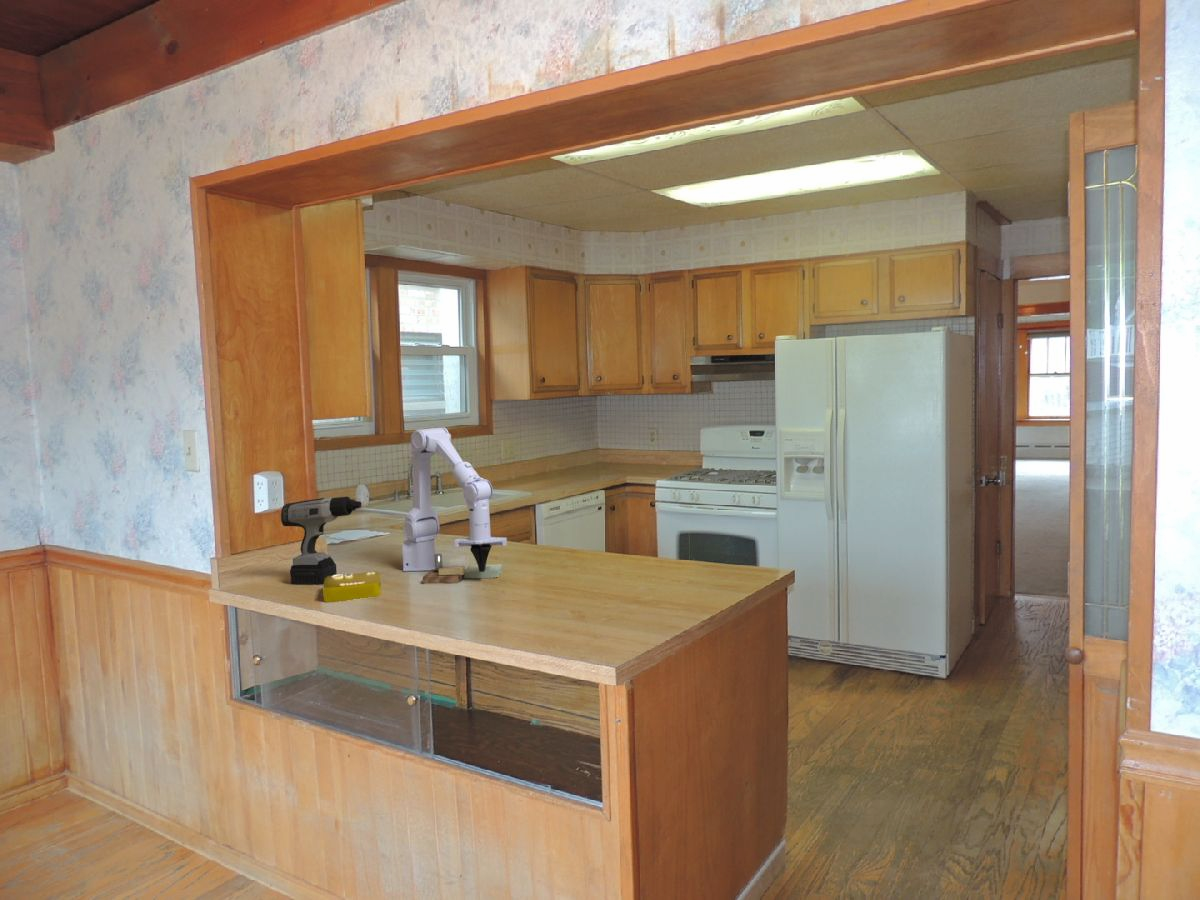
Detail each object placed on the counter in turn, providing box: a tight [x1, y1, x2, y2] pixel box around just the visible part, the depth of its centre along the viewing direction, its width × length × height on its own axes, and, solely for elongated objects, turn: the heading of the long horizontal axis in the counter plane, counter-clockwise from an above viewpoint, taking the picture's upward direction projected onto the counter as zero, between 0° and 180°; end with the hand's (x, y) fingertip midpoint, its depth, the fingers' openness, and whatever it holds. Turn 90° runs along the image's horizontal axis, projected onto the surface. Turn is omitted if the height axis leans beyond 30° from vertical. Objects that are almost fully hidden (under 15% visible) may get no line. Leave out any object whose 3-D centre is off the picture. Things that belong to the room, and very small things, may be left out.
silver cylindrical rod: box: [434, 553, 444, 573], centre depth 249 cm, size 2×2×7 cm
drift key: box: [439, 565, 466, 575], centre depth 243 cm, size 7×2×2 cm, turn 87°
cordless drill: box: [280, 496, 362, 585], centre depth 249 cm, size 8×24×25 cm, turn 78°
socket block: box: [422, 569, 464, 584], centre depth 247 cm, size 10×9×2 cm
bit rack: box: [463, 563, 504, 579], centre depth 251 cm, size 10×8×2 cm
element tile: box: [322, 571, 383, 604], centre depth 235 cm, size 15×15×5 cm
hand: (482, 570), depth 243 cm, fingers closed
